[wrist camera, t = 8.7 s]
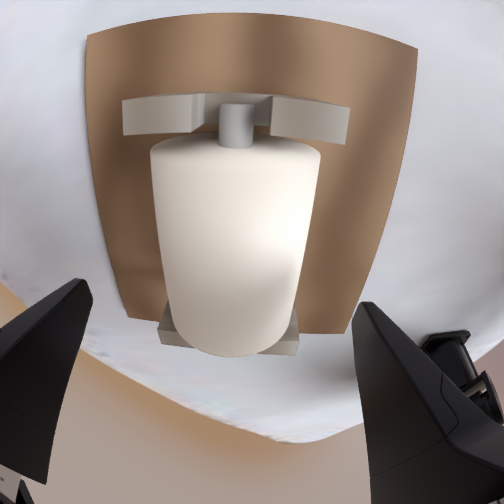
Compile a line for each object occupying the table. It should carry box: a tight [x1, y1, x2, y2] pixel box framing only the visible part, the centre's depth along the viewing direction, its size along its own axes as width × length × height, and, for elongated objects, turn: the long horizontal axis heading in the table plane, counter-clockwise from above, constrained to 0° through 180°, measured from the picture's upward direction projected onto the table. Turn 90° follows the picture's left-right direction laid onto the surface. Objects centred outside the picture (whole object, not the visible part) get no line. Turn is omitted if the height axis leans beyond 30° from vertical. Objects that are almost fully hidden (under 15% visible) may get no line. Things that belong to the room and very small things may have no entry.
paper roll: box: [150, 103, 321, 357], centre depth 11 cm, size 6×11×6 cm, turn 177°
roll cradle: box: [86, 13, 418, 355], centre depth 13 cm, size 17×20×6 cm
